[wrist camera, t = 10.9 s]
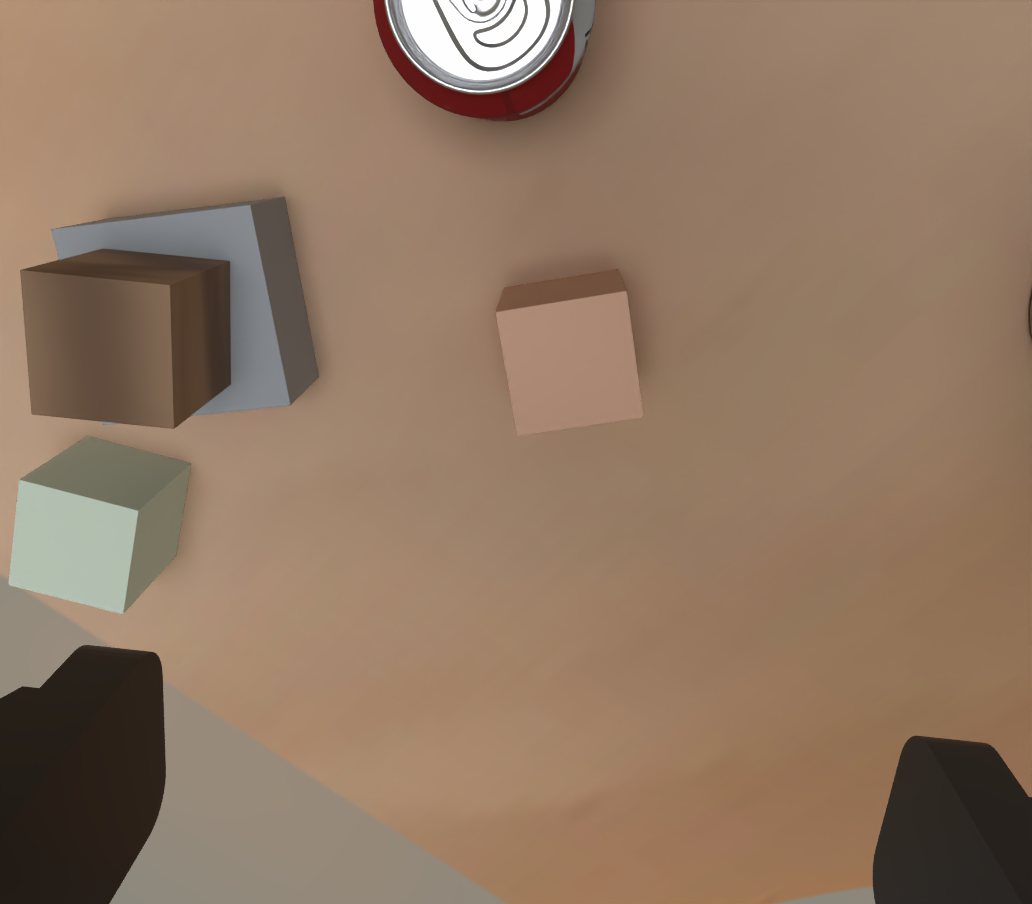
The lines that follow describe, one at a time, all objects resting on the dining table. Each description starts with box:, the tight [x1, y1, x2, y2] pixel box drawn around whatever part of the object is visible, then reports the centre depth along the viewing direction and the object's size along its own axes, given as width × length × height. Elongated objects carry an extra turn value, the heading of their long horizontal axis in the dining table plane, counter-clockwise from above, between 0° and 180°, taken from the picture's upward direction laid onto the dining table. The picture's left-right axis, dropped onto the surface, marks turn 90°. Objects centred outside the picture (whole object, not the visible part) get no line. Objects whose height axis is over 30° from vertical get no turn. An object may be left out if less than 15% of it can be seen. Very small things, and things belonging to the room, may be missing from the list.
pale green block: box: [9, 436, 191, 614], centre depth 43 cm, size 5×5×6 cm
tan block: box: [495, 269, 643, 436], centre depth 39 cm, size 5×5×6 cm
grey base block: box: [51, 197, 319, 425], centre depth 40 cm, size 8×8×5 cm
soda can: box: [373, 0, 596, 121], centre depth 33 cm, size 7×7×12 cm
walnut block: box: [20, 248, 231, 429], centre depth 35 cm, size 5×5×6 cm
